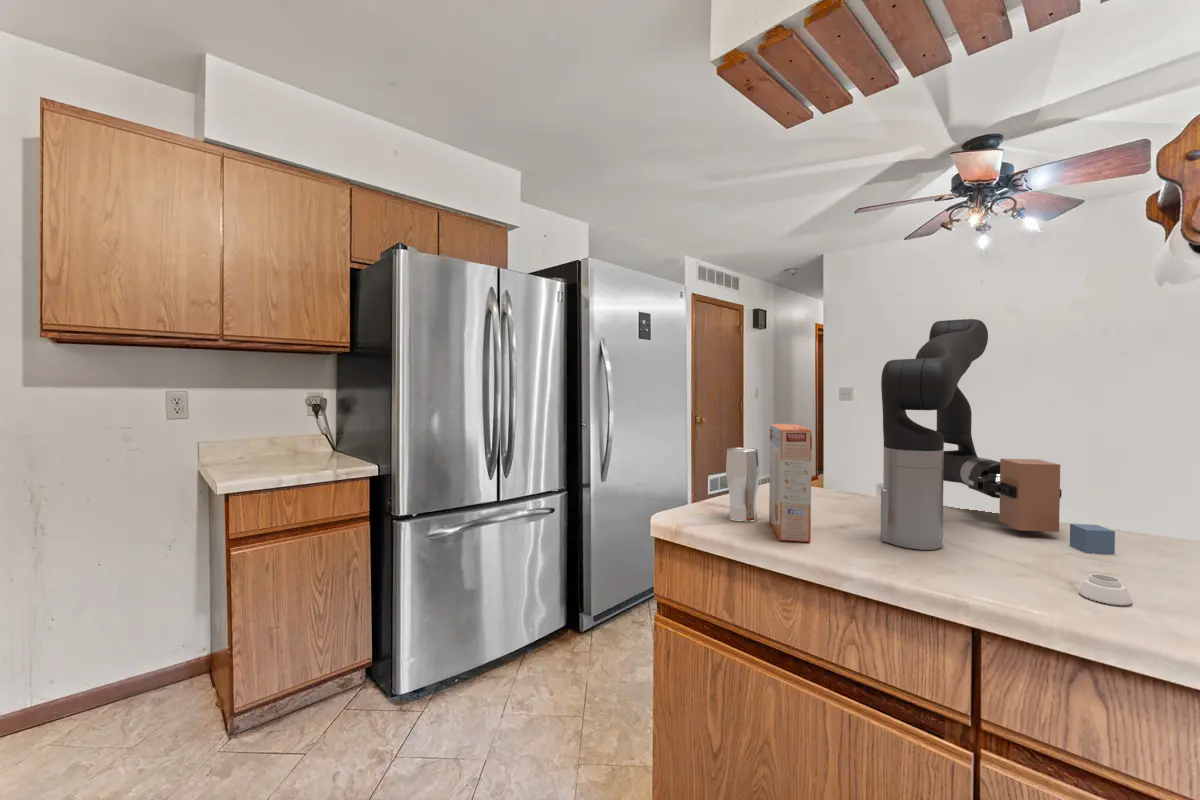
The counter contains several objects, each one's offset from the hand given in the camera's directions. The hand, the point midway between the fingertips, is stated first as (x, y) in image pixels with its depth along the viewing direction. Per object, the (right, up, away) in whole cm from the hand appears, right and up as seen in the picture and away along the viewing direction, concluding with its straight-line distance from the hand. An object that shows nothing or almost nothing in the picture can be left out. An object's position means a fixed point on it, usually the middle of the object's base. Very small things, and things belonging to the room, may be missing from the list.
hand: (1036, 493), depth 93 cm
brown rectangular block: (+1, -7, +3) cm, 7 cm away
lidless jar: (-14, -10, -26) cm, 31 cm away
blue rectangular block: (+3, -9, -7) cm, 12 cm away
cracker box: (-44, -9, +5) cm, 45 cm away
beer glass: (-50, -9, +15) cm, 53 cm away
